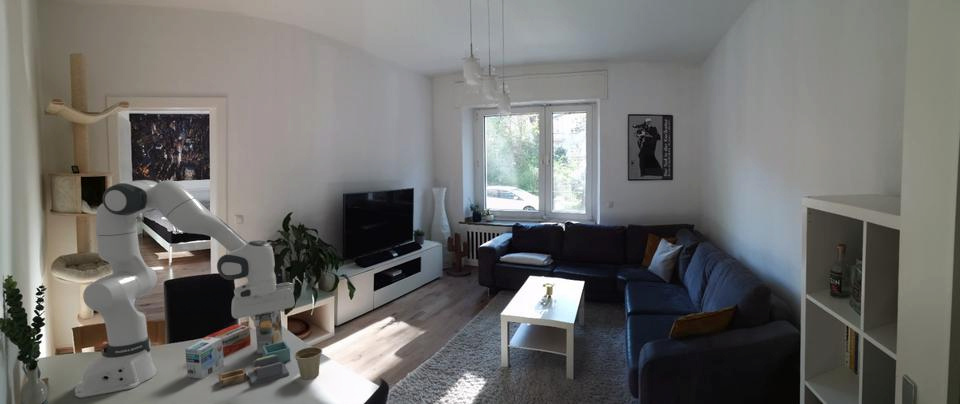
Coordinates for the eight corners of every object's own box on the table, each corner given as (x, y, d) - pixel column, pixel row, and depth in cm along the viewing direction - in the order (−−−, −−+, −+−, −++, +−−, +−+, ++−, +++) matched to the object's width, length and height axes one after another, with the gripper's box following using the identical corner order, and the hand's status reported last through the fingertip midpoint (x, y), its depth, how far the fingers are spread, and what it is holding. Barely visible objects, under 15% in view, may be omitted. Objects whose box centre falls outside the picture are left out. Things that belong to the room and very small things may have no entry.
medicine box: (218, 360, 175) (216, 340, 174) (204, 356, 178) (202, 337, 177) (251, 344, 189) (250, 326, 188) (237, 341, 192) (236, 323, 191)
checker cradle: (252, 385, 156) (251, 370, 156) (248, 374, 164) (247, 360, 163) (289, 375, 163) (288, 360, 163) (283, 365, 170) (282, 351, 170)
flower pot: (290, 375, 163) (289, 352, 162) (315, 366, 170) (314, 344, 169) (303, 384, 156) (301, 361, 155) (328, 374, 163) (327, 352, 162)
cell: (258, 332, 162) (257, 311, 161) (270, 329, 164) (269, 309, 163) (260, 336, 159) (259, 315, 158) (273, 333, 161) (271, 312, 160)
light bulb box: (202, 379, 161) (200, 350, 160) (186, 377, 162) (183, 348, 161) (225, 365, 171) (222, 337, 170) (209, 363, 173) (207, 336, 171)
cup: (267, 366, 169) (266, 354, 169) (263, 358, 176) (262, 346, 175) (290, 360, 174) (289, 348, 174) (285, 352, 181) (284, 341, 180)
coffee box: (268, 343, 189) (265, 306, 187) (283, 343, 189) (280, 306, 187) (257, 353, 180) (254, 315, 178) (272, 353, 180) (270, 315, 178)
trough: (220, 387, 155) (220, 380, 155) (219, 381, 159) (218, 374, 159) (246, 380, 160) (246, 373, 159) (244, 374, 164) (244, 368, 163)
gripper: (291, 279, 168) (293, 315, 170) (229, 289, 156) (232, 328, 158) (295, 283, 163) (298, 320, 165) (231, 294, 151) (234, 334, 153)
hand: (265, 324), depth 161 cm, fingers closed on cell, 4 cm apart
